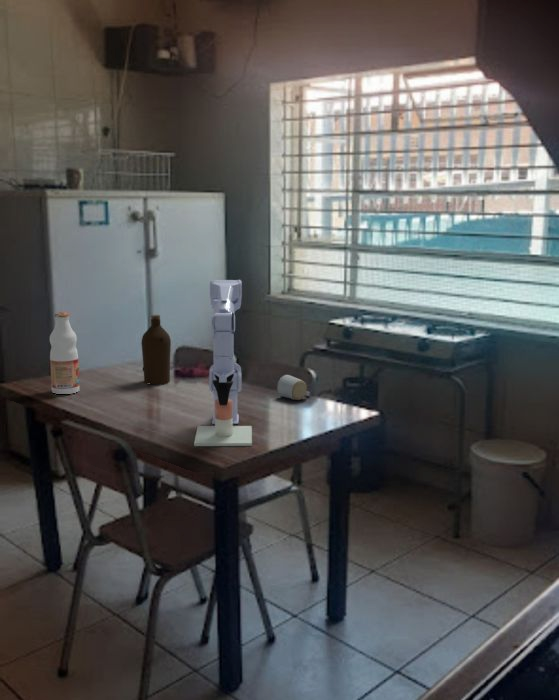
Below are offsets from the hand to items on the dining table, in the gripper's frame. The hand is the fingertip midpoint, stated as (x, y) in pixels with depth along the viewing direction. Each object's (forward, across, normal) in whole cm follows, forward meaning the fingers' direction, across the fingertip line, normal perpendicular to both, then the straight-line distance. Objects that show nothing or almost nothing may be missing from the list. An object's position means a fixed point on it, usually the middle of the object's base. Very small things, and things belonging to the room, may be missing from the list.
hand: (223, 401), depth 217 cm
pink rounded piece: (+5, +1, 0) cm, 5 cm away
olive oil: (+10, -65, -27) cm, 71 cm away
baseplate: (+10, +1, 0) cm, 10 cm away
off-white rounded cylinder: (+10, +1, 0) cm, 10 cm away
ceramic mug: (+10, -43, +23) cm, 50 cm away
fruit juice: (+10, -50, -57) cm, 77 cm away
